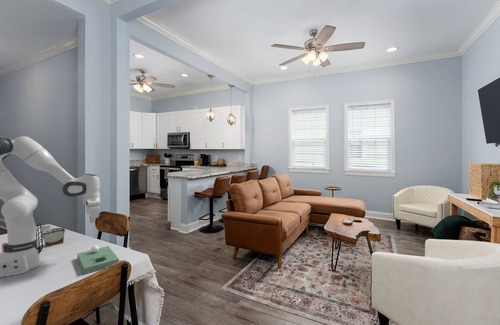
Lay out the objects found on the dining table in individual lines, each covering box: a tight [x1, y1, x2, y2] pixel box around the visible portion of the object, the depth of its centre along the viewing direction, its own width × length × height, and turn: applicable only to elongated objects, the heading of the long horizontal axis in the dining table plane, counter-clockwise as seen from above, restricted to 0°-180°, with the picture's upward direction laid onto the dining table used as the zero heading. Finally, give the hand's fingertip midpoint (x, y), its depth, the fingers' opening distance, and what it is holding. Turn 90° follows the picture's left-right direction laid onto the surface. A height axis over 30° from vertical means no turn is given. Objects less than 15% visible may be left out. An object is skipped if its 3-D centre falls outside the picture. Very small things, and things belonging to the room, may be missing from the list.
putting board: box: [76, 246, 120, 275], centre depth 135 cm, size 16×24×3 cm, turn 43°
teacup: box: [40, 225, 52, 240], centre depth 170 cm, size 15×12×8 cm
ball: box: [90, 244, 100, 253], centre depth 140 cm, size 4×4×4 cm
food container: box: [42, 227, 66, 248], centre depth 159 cm, size 12×6×10 cm, turn 144°
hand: (92, 222), depth 145 cm, fingers closed
